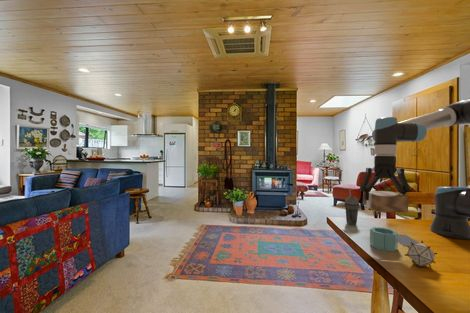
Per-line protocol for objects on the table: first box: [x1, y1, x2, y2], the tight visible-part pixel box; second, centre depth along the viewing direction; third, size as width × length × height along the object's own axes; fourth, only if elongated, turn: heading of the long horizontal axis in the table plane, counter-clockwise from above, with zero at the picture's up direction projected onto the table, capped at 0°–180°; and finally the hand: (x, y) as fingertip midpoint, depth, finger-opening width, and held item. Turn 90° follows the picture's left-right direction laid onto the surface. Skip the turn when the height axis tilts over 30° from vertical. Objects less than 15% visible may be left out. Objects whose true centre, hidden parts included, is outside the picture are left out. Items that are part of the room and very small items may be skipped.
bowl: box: [369, 226, 399, 252], centre depth 96 cm, size 9×9×7 cm
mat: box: [398, 233, 420, 248], centre depth 104 cm, size 9×15×1 cm, turn 174°
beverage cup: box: [344, 188, 360, 227], centre depth 126 cm, size 7×7×20 cm
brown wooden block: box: [362, 190, 409, 214], centre depth 96 cm, size 11×13×6 cm
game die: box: [404, 240, 438, 269], centre depth 81 cm, size 9×8×10 cm
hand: (383, 208), depth 96 cm, fingers closed on brown wooden block, 11 cm apart
